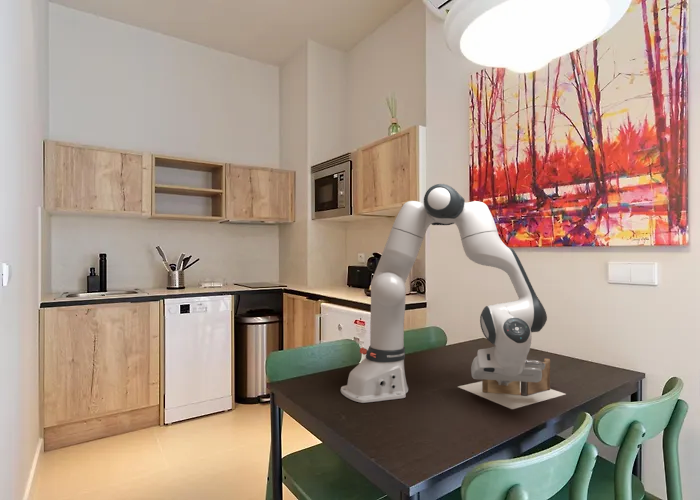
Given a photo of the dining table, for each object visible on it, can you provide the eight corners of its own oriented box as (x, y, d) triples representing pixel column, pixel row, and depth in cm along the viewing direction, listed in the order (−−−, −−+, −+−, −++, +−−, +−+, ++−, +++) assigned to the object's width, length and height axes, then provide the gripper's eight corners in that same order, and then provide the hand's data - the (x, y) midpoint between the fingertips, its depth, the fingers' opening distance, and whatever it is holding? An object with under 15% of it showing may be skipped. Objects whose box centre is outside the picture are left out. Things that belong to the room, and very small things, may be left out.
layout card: (512, 410, 117) (512, 409, 117) (457, 387, 136) (457, 386, 136) (566, 395, 130) (566, 394, 130) (509, 376, 149) (509, 375, 149)
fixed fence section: (524, 396, 128) (524, 364, 128) (519, 394, 129) (519, 363, 129) (551, 389, 134) (551, 359, 134) (546, 387, 136) (546, 358, 136)
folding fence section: (482, 392, 130) (482, 361, 130) (481, 390, 132) (482, 359, 132) (520, 394, 128) (520, 363, 128) (518, 392, 130) (519, 361, 130)
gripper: (544, 352, 120) (535, 376, 129) (472, 349, 123) (469, 372, 133) (548, 371, 115) (539, 394, 125) (474, 367, 119) (470, 390, 128)
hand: (502, 383), depth 129 cm, fingers closed, pressing on folding fence section
